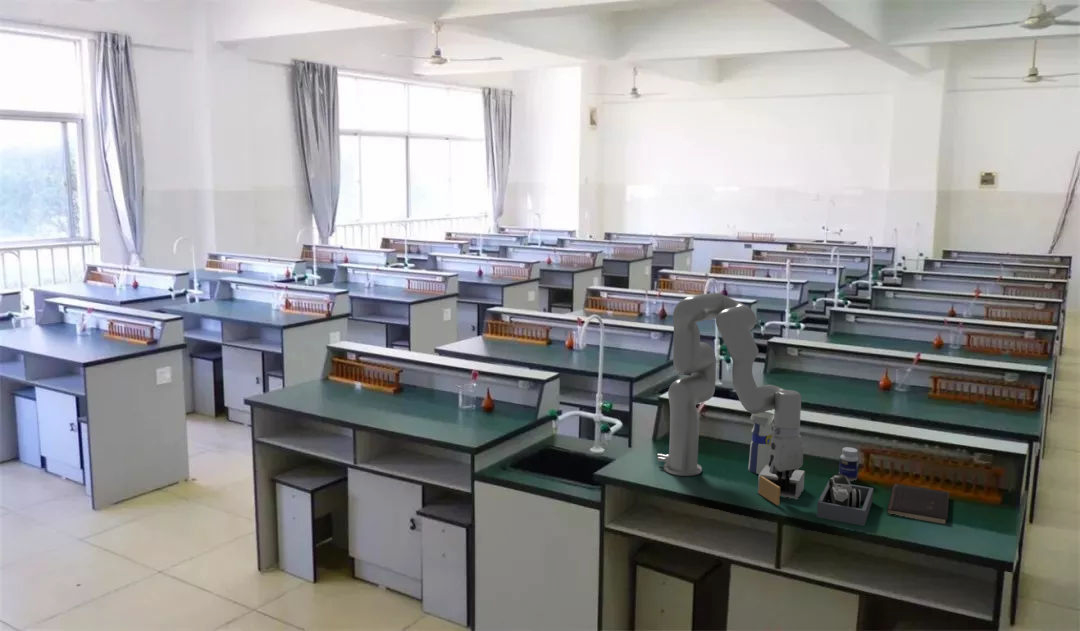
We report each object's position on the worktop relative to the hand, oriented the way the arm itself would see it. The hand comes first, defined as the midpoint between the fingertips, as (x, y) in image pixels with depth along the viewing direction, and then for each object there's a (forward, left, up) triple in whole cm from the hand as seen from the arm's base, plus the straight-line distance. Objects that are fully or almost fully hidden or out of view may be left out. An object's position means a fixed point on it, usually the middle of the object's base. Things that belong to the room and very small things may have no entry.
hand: (783, 489), depth 255 cm
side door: (-4, 0, -4) cm, 6 cm away
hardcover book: (+37, +17, -5) cm, 41 cm away
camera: (+17, +2, -4) cm, 18 cm away
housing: (-2, +9, -4) cm, 10 cm away
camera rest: (+18, +3, -4) cm, 18 cm away
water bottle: (-12, +25, -4) cm, 28 cm away
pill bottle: (+15, +31, -4) cm, 34 cm away
